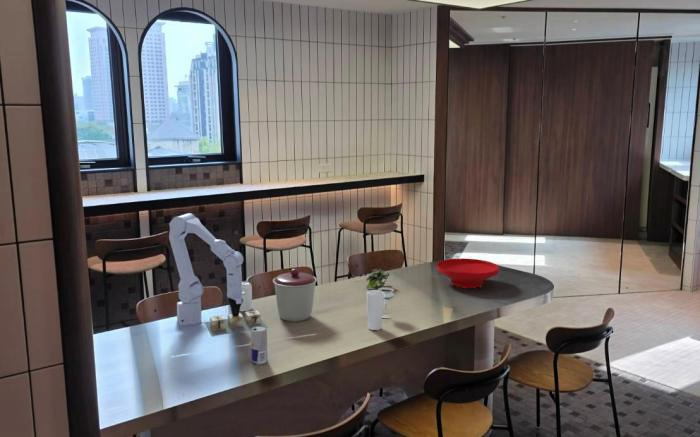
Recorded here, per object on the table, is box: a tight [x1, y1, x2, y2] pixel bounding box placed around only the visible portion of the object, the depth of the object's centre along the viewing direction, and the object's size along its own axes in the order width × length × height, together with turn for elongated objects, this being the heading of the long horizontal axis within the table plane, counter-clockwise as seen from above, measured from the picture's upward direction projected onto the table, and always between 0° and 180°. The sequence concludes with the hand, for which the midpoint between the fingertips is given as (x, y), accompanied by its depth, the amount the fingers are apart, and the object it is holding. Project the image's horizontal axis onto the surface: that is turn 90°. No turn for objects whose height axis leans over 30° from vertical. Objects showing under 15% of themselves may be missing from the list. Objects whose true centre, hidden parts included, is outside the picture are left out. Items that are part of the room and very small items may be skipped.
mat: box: [203, 316, 269, 337], centre depth 225 cm, size 22×16×1 cm
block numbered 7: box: [244, 310, 262, 326], centre depth 227 cm, size 5×5×4 cm
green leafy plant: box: [365, 268, 390, 290], centre depth 276 cm, size 11×11×12 cm
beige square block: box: [209, 314, 226, 331], centre depth 221 cm, size 5×5×4 cm
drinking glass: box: [365, 289, 385, 331], centre depth 222 cm, size 7×7×15 cm
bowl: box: [436, 258, 500, 289], centre depth 283 cm, size 30×30×10 cm
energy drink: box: [250, 326, 268, 366], centre depth 191 cm, size 5×5×12 cm
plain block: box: [227, 312, 244, 328], centre depth 224 cm, size 5×5×4 cm
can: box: [239, 280, 253, 312], centre depth 243 cm, size 6×6×12 cm
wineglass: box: [377, 286, 395, 319], centre depth 235 cm, size 7×7×12 cm
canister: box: [272, 268, 318, 323], centre depth 233 cm, size 18×18×21 cm
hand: (235, 315), depth 224 cm, fingers closed, pressing on plain block
